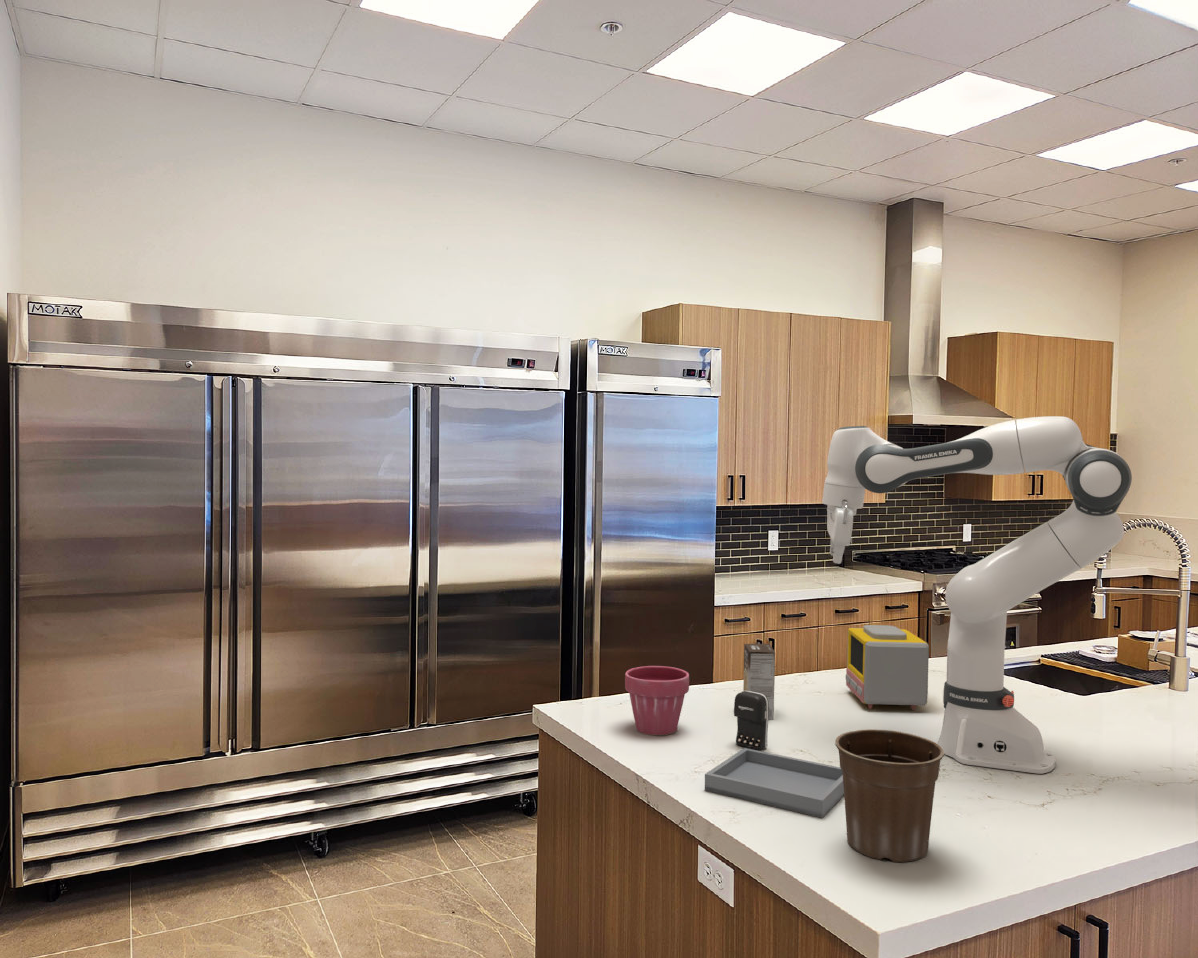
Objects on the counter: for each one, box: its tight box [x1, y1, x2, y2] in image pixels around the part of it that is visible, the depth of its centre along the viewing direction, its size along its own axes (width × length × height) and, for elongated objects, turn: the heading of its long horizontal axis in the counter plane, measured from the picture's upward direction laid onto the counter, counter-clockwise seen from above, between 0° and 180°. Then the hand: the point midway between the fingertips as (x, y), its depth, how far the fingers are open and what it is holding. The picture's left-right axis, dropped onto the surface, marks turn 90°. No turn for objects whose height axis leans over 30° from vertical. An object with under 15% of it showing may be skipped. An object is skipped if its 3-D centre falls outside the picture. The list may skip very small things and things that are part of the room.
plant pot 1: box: [624, 665, 690, 736], centre depth 199 cm, size 14×14×13 cm
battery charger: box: [733, 690, 769, 751], centre depth 188 cm, size 7×4×11 cm, turn 49°
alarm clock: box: [845, 624, 930, 711], centre depth 225 cm, size 20×16×18 cm
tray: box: [704, 747, 844, 819], centre depth 164 cm, size 22×18×3 cm
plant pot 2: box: [834, 728, 945, 863], centre depth 140 cm, size 16×16×16 cm
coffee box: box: [742, 643, 776, 720], centre depth 212 cm, size 9×6×16 cm
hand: (835, 559), depth 198 cm, fingers open, 8 cm apart
